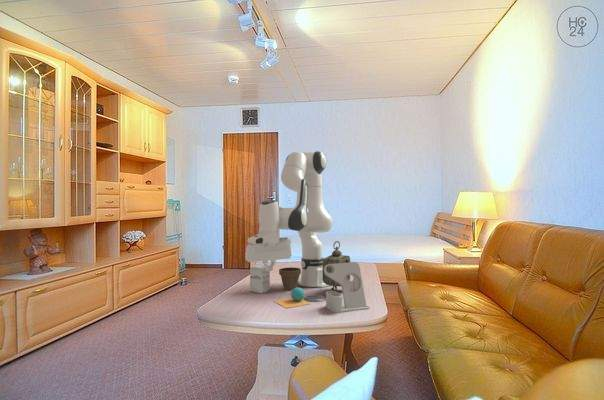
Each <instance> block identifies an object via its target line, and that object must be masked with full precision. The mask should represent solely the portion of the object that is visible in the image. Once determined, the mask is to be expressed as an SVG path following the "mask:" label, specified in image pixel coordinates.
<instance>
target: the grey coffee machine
mask: <svg viewBox="0 0 604 400" xmlns="http://www.w3.org/2000/svg"><path fill="white" fill-rule="evenodd" d="M328 266H329V267H331V268H332V272H331V273H328V272H327V271H326V268H327V267H328ZM324 273H325V275H326V276H328V277H329V278H331V279H333V280H334V281H336V282H337V283H339V284H340V285H341V286H342V287H341V290H342V291H341V292H342V293H339V292H338V293H337V292H336V290H334V291H332V290H327V291H325V298H326V299H325V308H326V309H328V310H330V312H332V313H334V314H339V313H346V312H353V311H354V310H356V311H362V310H361V309H364V310H369V309H368V308H370V309H371V305H368V304H367V301H366V296H365V290H364V289H365V288H364V285H363V279H362V278H363V277H362V273H361V267H360V265H359V263H358V262H356V261H355V262H354V261H352V262H351V261H350V263H337V264H328V265H326V266H325V267H324ZM348 275H350V276H352V281H351V280H350V281H349V280H348V279H347V277H348Z"/></svg>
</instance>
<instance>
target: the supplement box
mask: <svg viewBox="0 0 604 400" xmlns="http://www.w3.org/2000/svg"><path fill="white" fill-rule="evenodd" d="M249 270H250V271H249V292H250V291H253V292H252V293H259V294H264V293H266V292H269V291H270V289H271V288H270V286H271V285H270V282H271V280H270V279H271V278H270V273H271V271H265V266H264V264H254V265H252V266H250V269H249ZM268 290H269V291H268ZM263 292H264V293H263Z"/></svg>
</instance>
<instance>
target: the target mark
mask: <svg viewBox="0 0 604 400" xmlns="http://www.w3.org/2000/svg"><path fill="white" fill-rule="evenodd" d="M273 302H274V303H276V304H278V305H280V306H281V307H283V308H285V309H291V308H297V307H303V306H308V305H311V302H310V301H306V300H305V299H302V300H301V301H295V300H293V299H292V297H290V298H284V299H277V300H273Z"/></svg>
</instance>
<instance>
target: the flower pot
mask: <svg viewBox="0 0 604 400" xmlns="http://www.w3.org/2000/svg"><path fill="white" fill-rule="evenodd" d="M301 273H302V268H300V267H292V266H291V267H282V268H279V269H278V274H279V275H280V279H281V281H282V283H281V284H282V286H283V289H284V290H286V291H292V290H293V289H294V288H297V287H298V284H299V281H300V279H299V278H300V276H301Z"/></svg>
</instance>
